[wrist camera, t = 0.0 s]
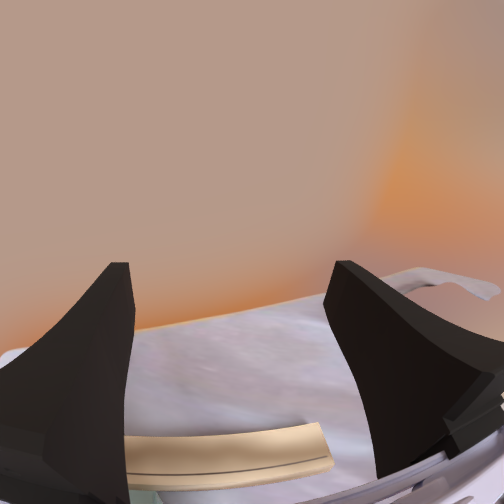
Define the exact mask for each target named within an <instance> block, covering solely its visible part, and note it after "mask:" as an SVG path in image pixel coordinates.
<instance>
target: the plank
mask: <svg viewBox="0 0 504 504" xmlns="http://www.w3.org/2000/svg"><path fill="white" fill-rule="evenodd" d="M124 444H125V460H126V472H127V481H128V489H129V490H143V491H204V490H220V489H231V488H241V487H249V486H257V485H264V484H271V483H277V482H282V481H288V480H293V479H298V478H303V477H308V476H312V475H316V474H320V473H325V472H328V471H330V470H331V468H332V467H333V466H334V465H335V463H334V460H333V458H332V455H331V453H330V450H329V448H328V445H327V443H326V440H325V438H324V435H323V433H322V430H321V428H320V425H319V423H318V422H316V423H311V424H306V425H300V426H294V427H288V428H281V429H274V430H267V431H259V432H250V433H240V434H229V435H214V436H193V437H144V436H124Z"/></svg>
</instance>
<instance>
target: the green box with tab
mask: <svg viewBox="0 0 504 504" xmlns="http://www.w3.org/2000/svg"><path fill="white" fill-rule="evenodd" d="M129 496H130V503H131V504H163V502H162V501H161V499H160V497H159V495H158V493H157V492H156V491H142V490H129Z"/></svg>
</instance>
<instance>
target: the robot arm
mask: <svg viewBox="0 0 504 504" xmlns="http://www.w3.org/2000/svg"><path fill="white" fill-rule="evenodd" d="M323 306H324V309H325V312H326V316H327V319H328V322H329V325H330V327H331V330H332V332H333V334H334V336H335V338H336V340H337V342H338V344H339V347H340V349H341V351H342V353H343V355H344V357H345V359H346V361H347V363H348V365H349V367H350V370H351V372H352V374H353V376H354V379H355V381H356V384H357V387H358V390H359V393H360V396H361V399H362V402H363V406H364V410H365V413H366V417H367V421H368V425H369V429H370V434H371V439H372V444H373V450H374V457H375V464H376V473H377V478H378V480H376V481H373V482H370V483H367V484H364V485H361V486H358V487H355V488H352V489H349V490H346V491H343V492H339V493H336V494H332V495H329V496H325V497H321V498H317V499H313V500H309V501H305V502H300V503H296V504H374V503H376V502H379V501H382V500H384V499H386V498H389V497H391V496H394V495H396V494H398V493H400V492H403V491H405V490H407V489H409V488H411V487H413V486H414V487H413V489H412V492H411V493H409V494H407V495H405V496H403V497H401V498H399V499H397V500H396V501H394V502H392V503H390V504H494V503H495V502H496V501H497V500H498V499H499V498H500V497H501V495H502V494H503V493H504V410H503V409H502V407H501V406H500V405H502V404H503V403H504V399H503V397H502V396H501V394H502V393H503V392H504V342H501V341H498V340H494V339H490V338H487V337H484V336H482V335H479V334H476V333H473V332H471V331H468V330H466V329H463V328H461V327H458V326H457V325H455V324H452V323H450V322H448V321H446V320H444V319H442V318H440V317H438V316H437V315H435V314H433V313H431V312H429V311H427V310H426V309H424V308H422V307H420V306H419V305H417V304H416V303H414V302H413V301H411V300H409V299H408V298H406V297H405V296H403V295H402V294H400V293H399V292H397V291H396V290H395V289H393V288H392V287H390V286H389V285H387V284H386V283H384V282H383V281H382V280H380V279H379V278H377V277H376V276H374V275H373V274H372V273H370V272H369V271H367V270H365V269H364V268H363V267H361V266H359V265H358V264H356V263H354V262H352V261H350V260H348V261H336V263H335V266H334V270H333V273H332V276H331V280H330V283H329V286H328V289H327V293H326V296H325V299H324V302H323ZM134 325H135V304H134V298H133V291H132V284H131V278H130V270H129V263H127V262H126V263H125V262H123V263H121V262H120V263H117V262H116V263H115V262H114V263H113V262H111V263H110V264H109V265H108V266H107V268H106V269H105V270H104V271H103V272H102V273H101V274H100V276H99V277H98V278H97V279H96V280H95V282H94V283H93V284H92V285H91V286H90V288H89V289H88V290H87V291H86V292H85V293H84V295H83V296H82V297H81V298H80V299H79V300H78V301H77V303H76V304H75V305H74V306H73V307H72V308H71V309H70V310H69V311H68V312H67V313H66V314H65V315H64V317H63V318H62V319H61V320H60V321H59V322H58V323H57V324H56V325H55V326H54V327H53V328H52V329H50V330H49V331H48V332H47V333H46V334H45V335H44V336H43V337H42V338H40V339H39V340H38V341H37V342H36V343H34V344H33V345H32V346H31V347H29V348H28V349H27V350H26V351H24V352H23V353H22V354H21V355H19V356H18V357H17V358H15V359H14V360H13V361H11V362H10V363H8V364H7V365H6V366H4V367H3V368H1V369H0V504H131V503H130V496H129V489H128V481H127V472H126V460H125V444H124V396H125V387H126V380H127V373H128V367H129V361H130V355H131V349H132V343H133V337H134Z"/></svg>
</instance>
